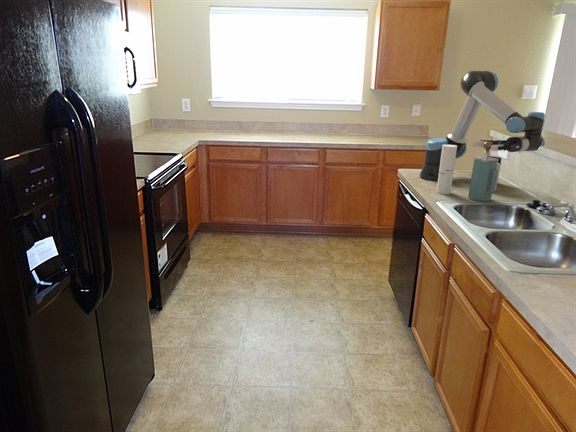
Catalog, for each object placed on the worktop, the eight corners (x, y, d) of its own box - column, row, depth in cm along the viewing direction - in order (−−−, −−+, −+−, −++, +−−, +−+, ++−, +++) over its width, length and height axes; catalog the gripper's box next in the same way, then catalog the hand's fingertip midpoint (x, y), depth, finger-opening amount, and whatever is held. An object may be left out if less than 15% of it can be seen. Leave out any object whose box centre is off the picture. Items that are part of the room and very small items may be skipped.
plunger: (469, 190, 223) (477, 141, 215) (481, 189, 225) (488, 140, 217) (479, 194, 216) (488, 143, 208) (491, 192, 218) (499, 143, 211)
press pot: (463, 196, 225) (469, 156, 218) (479, 195, 228) (486, 155, 222) (482, 204, 213) (489, 161, 206) (499, 202, 217) (506, 160, 210)
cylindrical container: (451, 194, 229) (458, 147, 221) (437, 193, 230) (443, 146, 222) (449, 191, 236) (455, 145, 228) (435, 190, 237) (441, 144, 229)
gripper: (535, 156, 209) (499, 158, 202) (496, 147, 231) (463, 149, 224) (538, 140, 207) (502, 142, 200) (499, 133, 228) (465, 134, 222)
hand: (481, 145), depth 212 cm, fingers open, 12 cm apart
